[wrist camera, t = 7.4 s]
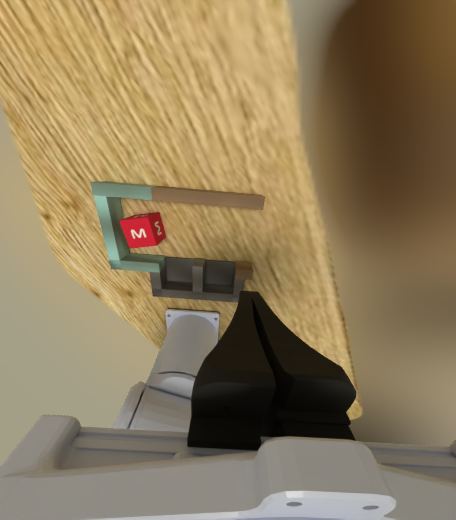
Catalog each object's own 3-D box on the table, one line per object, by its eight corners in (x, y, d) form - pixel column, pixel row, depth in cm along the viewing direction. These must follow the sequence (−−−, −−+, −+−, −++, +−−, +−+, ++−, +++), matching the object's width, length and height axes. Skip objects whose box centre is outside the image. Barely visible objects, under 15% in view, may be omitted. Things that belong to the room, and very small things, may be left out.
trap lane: (246, 292, 24) (247, 303, 22) (126, 284, 24) (117, 293, 22) (261, 195, 19) (264, 196, 17) (105, 181, 18) (90, 181, 16)
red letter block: (159, 211, 20) (147, 217, 17) (166, 237, 21) (156, 245, 18) (134, 215, 20) (118, 220, 17) (142, 239, 21) (129, 248, 18)
